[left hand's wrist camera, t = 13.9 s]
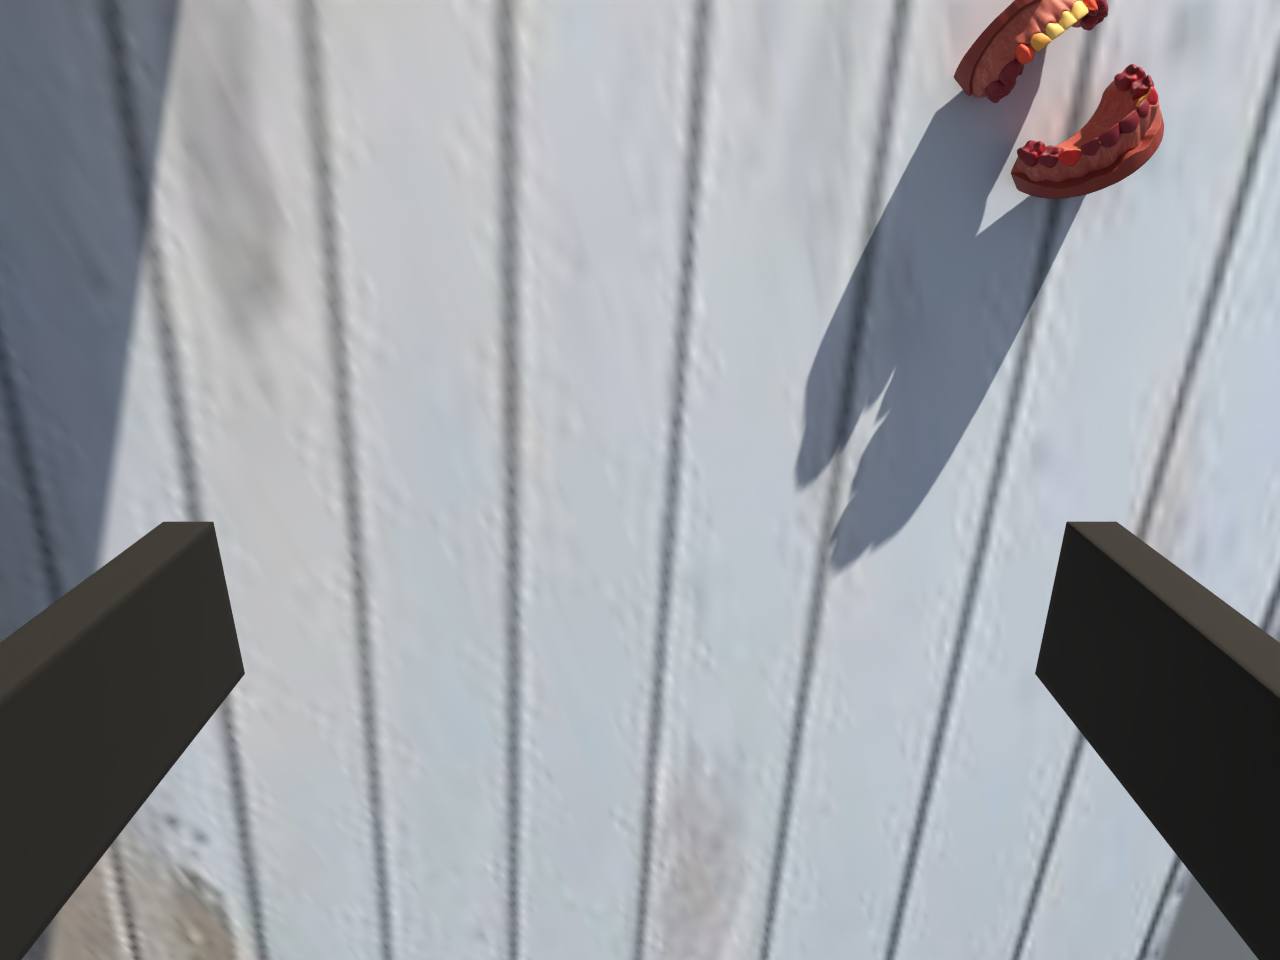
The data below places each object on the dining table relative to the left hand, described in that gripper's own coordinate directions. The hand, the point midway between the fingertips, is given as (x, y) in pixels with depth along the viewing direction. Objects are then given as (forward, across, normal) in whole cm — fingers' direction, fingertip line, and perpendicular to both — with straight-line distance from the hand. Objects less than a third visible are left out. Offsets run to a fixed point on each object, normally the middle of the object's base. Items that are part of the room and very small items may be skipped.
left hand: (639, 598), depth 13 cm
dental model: (+26, -17, -9) cm, 32 cm away
